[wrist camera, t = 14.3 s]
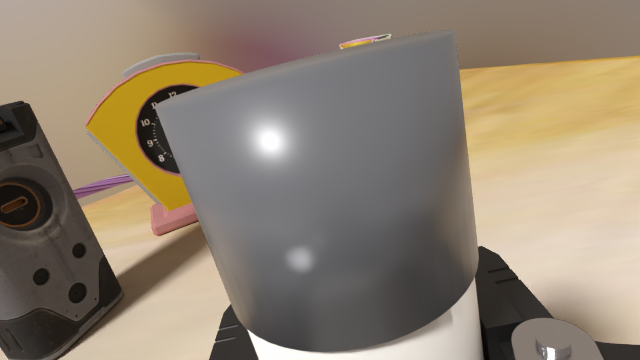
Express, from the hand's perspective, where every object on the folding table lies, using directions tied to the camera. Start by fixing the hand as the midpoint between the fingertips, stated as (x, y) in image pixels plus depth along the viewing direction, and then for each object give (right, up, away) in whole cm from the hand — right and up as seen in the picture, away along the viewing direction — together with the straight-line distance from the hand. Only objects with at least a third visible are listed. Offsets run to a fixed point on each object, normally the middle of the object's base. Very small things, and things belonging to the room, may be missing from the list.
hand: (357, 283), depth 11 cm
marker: (+2, -8, 0) cm, 8 cm away
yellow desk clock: (-17, -1, +46) cm, 49 cm away
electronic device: (-24, -11, +25) cm, 36 cm away
